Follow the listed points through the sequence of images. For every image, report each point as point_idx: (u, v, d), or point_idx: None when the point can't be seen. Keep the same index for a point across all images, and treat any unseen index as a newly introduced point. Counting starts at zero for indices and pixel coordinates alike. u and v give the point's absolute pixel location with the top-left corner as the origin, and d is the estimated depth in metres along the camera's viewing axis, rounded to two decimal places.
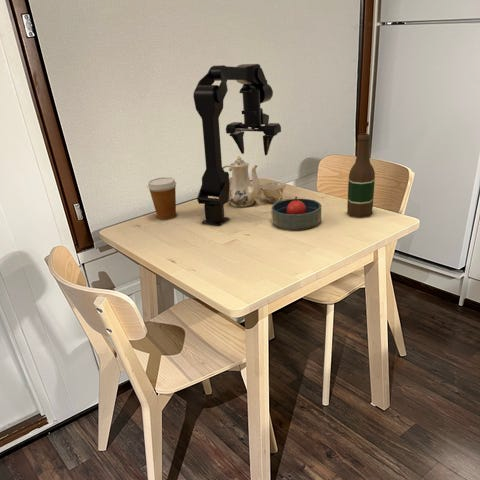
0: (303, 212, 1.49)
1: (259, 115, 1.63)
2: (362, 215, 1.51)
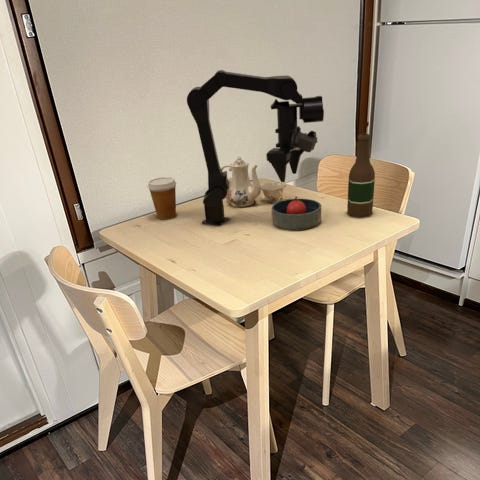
0: (303, 212, 1.49)
1: (283, 136, 1.42)
2: (362, 215, 1.51)
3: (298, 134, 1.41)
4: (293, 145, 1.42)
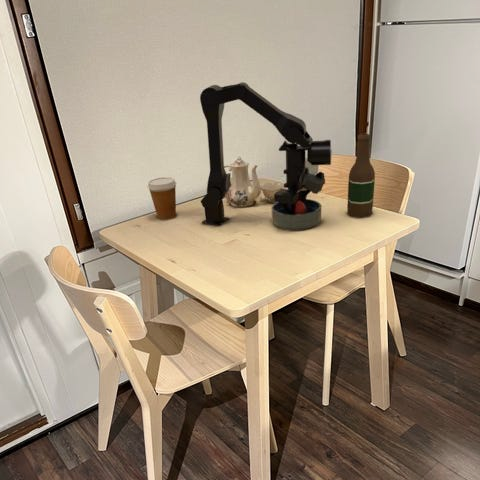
0: (303, 212, 1.49)
1: (291, 177, 1.43)
2: (362, 215, 1.51)
3: (306, 175, 1.43)
4: (301, 186, 1.43)
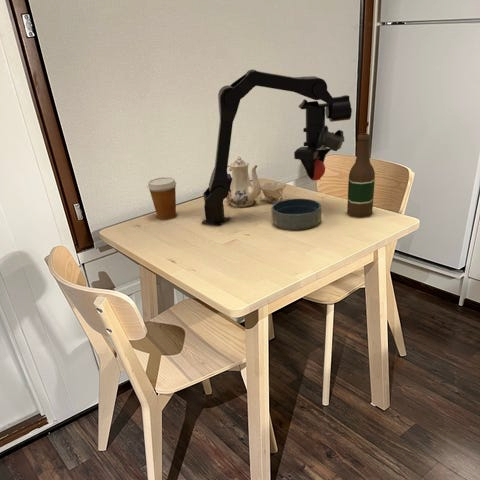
0: (322, 171, 1.51)
1: (311, 135, 1.46)
2: (362, 215, 1.51)
3: (325, 133, 1.45)
4: (320, 144, 1.46)
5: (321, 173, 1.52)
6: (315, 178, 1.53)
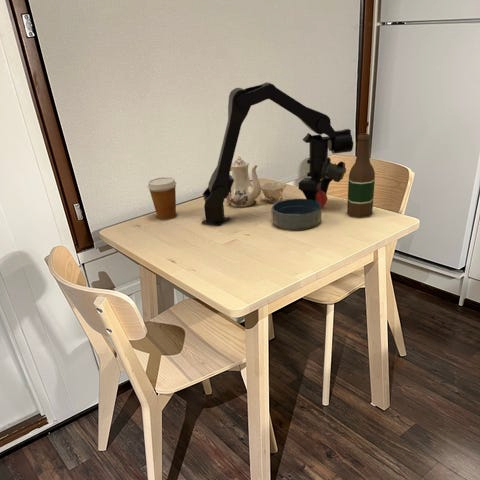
0: (325, 201, 1.58)
1: (314, 166, 1.53)
2: (362, 215, 1.51)
3: (328, 165, 1.52)
4: (323, 175, 1.53)
5: (323, 203, 1.59)
6: None
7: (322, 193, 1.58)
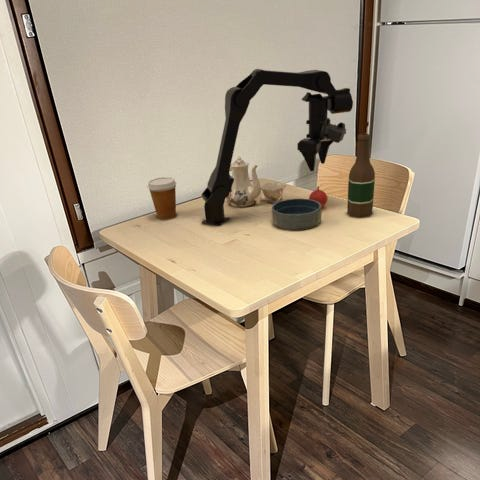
0: (325, 201, 1.58)
1: (314, 127, 1.50)
2: (362, 215, 1.51)
3: (328, 125, 1.49)
4: (323, 136, 1.49)
5: (323, 203, 1.59)
6: None
7: (322, 193, 1.58)
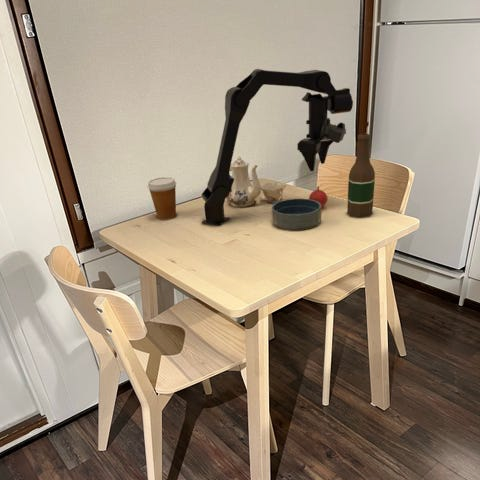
0: (325, 201, 1.58)
1: (314, 127, 1.50)
2: (362, 215, 1.51)
3: (328, 125, 1.49)
4: (323, 136, 1.49)
5: (323, 203, 1.59)
6: None
7: (322, 193, 1.58)
